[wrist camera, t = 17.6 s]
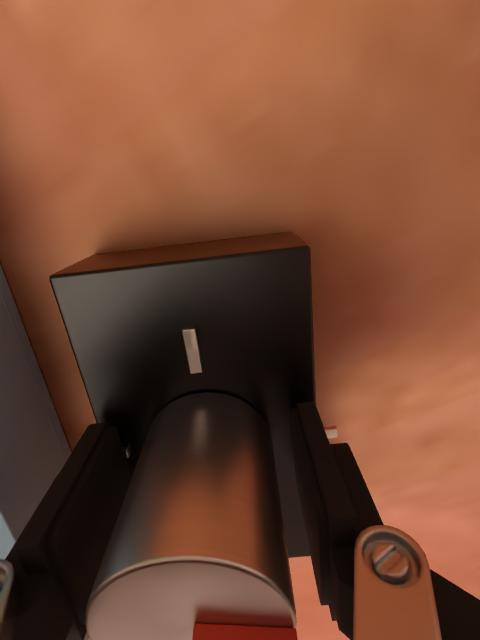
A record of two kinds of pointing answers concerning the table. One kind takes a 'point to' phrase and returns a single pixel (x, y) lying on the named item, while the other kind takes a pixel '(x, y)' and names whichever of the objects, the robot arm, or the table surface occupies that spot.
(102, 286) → the black dial panel
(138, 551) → the control knob
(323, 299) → the table surface
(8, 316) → the tray
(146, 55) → the table surface
